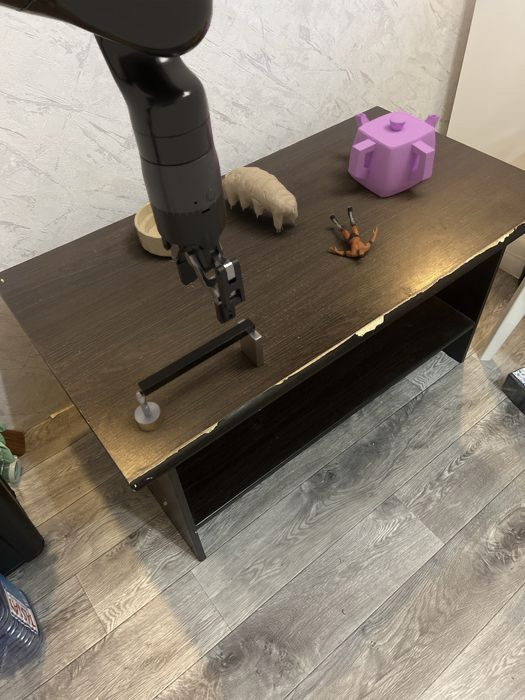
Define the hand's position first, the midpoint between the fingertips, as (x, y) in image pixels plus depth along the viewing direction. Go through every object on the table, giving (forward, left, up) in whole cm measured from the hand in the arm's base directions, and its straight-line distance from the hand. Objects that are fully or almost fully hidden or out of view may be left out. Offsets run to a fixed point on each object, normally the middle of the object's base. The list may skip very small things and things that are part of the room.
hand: (207, 299), depth 63 cm
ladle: (-4, -1, -16) cm, 17 cm away
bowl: (+6, +34, -16) cm, 38 cm away
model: (+23, +31, -16) cm, 42 cm away
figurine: (+33, +15, -16) cm, 40 cm away
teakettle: (+53, +29, -16) cm, 63 cm away
